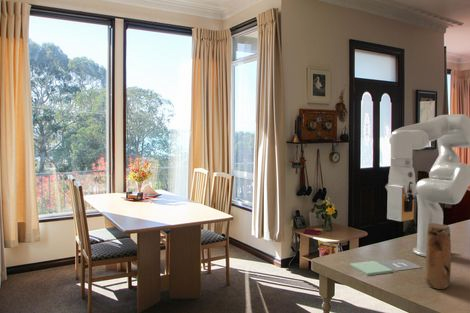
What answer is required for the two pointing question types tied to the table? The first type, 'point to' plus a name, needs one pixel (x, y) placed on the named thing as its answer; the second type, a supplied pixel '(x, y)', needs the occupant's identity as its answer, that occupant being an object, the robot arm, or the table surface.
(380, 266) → the sage board
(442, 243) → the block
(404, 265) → the slate tile
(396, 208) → the small box
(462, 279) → the table surface
